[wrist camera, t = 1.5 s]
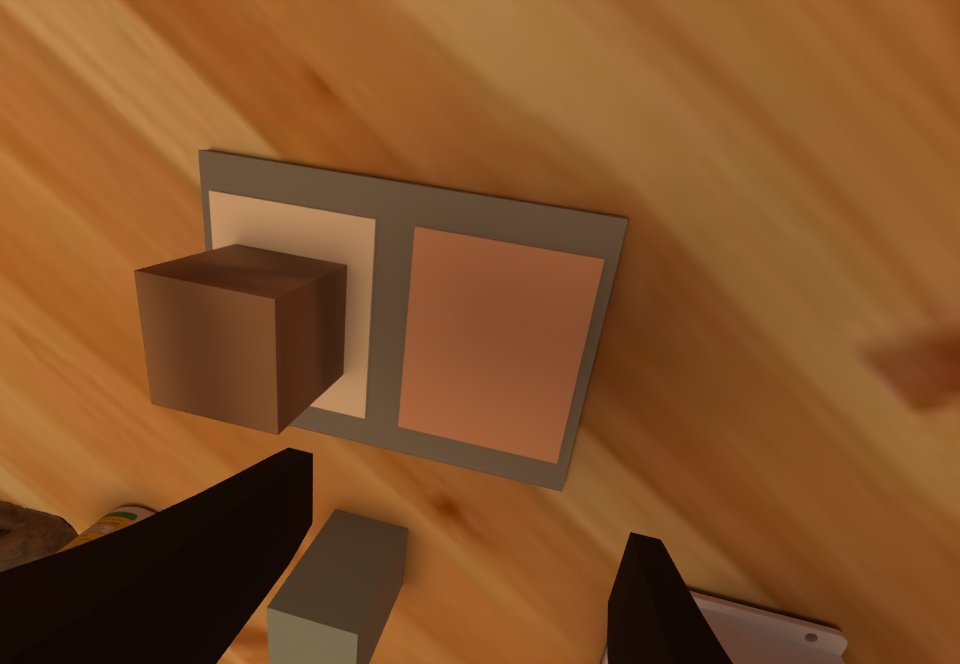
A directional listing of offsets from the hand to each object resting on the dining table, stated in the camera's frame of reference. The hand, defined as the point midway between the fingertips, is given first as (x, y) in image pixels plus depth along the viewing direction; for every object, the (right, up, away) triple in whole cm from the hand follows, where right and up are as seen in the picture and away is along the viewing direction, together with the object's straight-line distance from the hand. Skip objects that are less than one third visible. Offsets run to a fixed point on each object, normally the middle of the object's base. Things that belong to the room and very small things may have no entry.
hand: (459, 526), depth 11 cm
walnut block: (-8, +5, +10) cm, 14 cm away
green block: (-5, -7, +15) cm, 18 cm away
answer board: (-3, +5, +10) cm, 12 cm away
